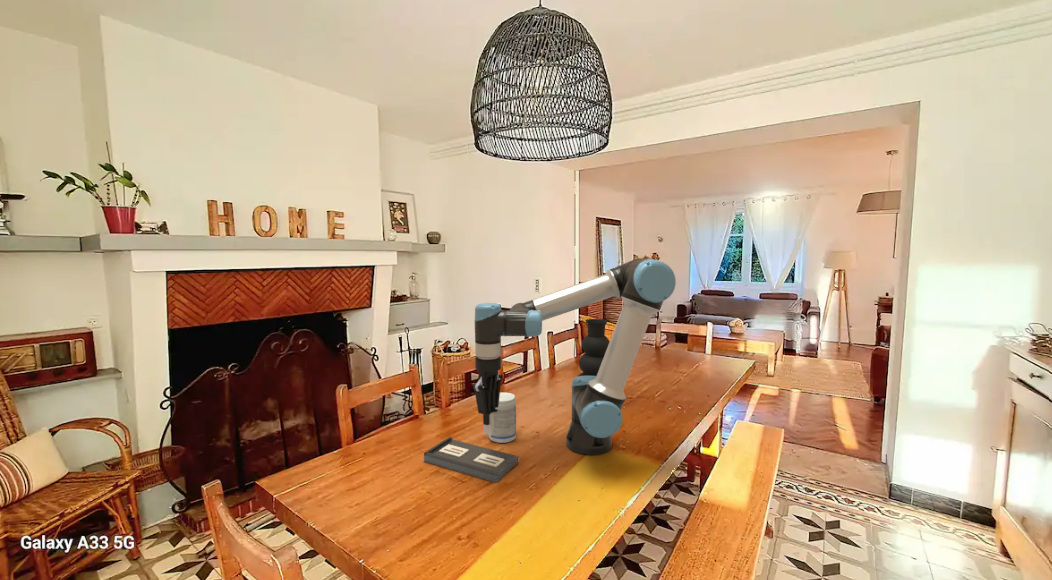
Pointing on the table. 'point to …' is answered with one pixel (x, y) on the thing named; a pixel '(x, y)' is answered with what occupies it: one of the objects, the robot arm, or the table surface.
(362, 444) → the table surface
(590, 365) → the vase
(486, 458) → the label
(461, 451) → the label
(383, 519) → the table surface
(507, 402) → the supplement tub
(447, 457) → the label board
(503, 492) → the table surface
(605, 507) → the table surface
